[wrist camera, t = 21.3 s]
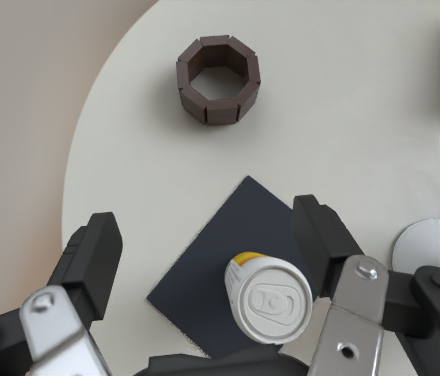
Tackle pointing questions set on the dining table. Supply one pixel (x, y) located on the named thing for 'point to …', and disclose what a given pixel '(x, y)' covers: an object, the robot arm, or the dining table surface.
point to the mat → (217, 263)
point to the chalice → (417, 247)
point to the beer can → (268, 298)
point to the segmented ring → (213, 57)
